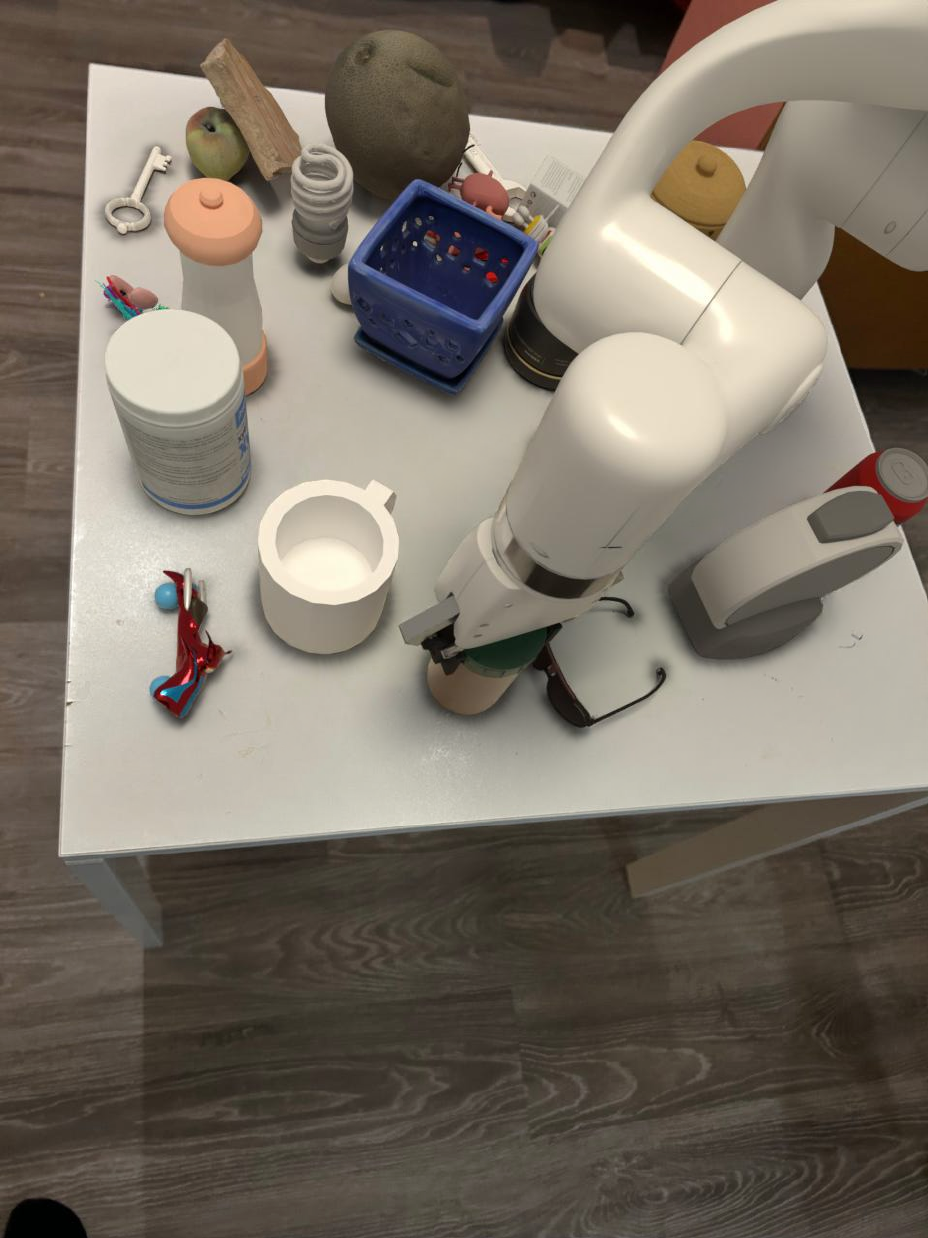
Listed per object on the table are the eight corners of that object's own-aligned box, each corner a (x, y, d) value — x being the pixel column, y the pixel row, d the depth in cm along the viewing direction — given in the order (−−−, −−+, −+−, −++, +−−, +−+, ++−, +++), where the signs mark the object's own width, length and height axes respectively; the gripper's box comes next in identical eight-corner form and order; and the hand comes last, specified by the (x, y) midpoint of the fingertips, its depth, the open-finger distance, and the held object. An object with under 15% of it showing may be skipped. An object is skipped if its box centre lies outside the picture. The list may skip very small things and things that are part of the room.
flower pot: (397, 269, 84) (414, 168, 73) (511, 329, 84) (545, 237, 73) (334, 356, 78) (343, 261, 68) (457, 420, 79) (485, 336, 68)
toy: (486, 126, 79) (590, 239, 85) (484, 123, 81) (585, 233, 88) (440, 184, 81) (545, 289, 88) (440, 179, 84) (541, 281, 90)
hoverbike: (131, 712, 59) (204, 701, 58) (140, 565, 64) (208, 553, 63) (166, 730, 64) (235, 720, 63) (172, 592, 68) (236, 580, 68)
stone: (300, 175, 89) (318, 160, 88) (267, 185, 79) (287, 168, 78) (221, 54, 84) (239, 37, 83) (175, 48, 74) (195, 29, 73)
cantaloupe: (292, 134, 75) (407, 250, 84) (400, 3, 69) (511, 142, 79) (288, 92, 85) (392, 200, 94) (383, -27, 79) (483, 101, 88)
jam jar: (486, 631, 71) (521, 574, 60) (514, 701, 69) (556, 655, 58) (415, 653, 69) (438, 597, 58) (442, 725, 67) (471, 682, 56)
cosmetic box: (513, 214, 88) (606, 276, 90) (529, 182, 84) (626, 246, 86) (532, 184, 91) (622, 244, 92) (549, 151, 87) (642, 214, 89)
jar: (568, 241, 80) (545, 298, 87) (501, 287, 76) (482, 342, 83) (643, 308, 79) (614, 360, 86) (578, 358, 75) (553, 408, 82)
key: (141, 233, 78) (96, 221, 78) (143, 241, 79) (98, 229, 79) (178, 149, 83) (135, 137, 83) (179, 157, 84) (137, 145, 83)
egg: (333, 317, 80) (348, 308, 83) (384, 293, 78) (397, 284, 81) (314, 279, 79) (330, 271, 82) (365, 252, 76) (380, 245, 79)
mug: (324, 495, 73) (331, 426, 63) (423, 553, 73) (445, 493, 63) (236, 613, 67) (228, 557, 58) (343, 677, 67) (353, 630, 57)
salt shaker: (282, 380, 76) (282, 212, 59) (210, 410, 74) (188, 242, 56) (243, 323, 78) (231, 142, 60) (171, 350, 75) (137, 169, 58)
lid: (434, 599, 59) (438, 589, 58) (522, 579, 61) (528, 569, 60) (463, 688, 57) (468, 680, 56) (553, 665, 59) (561, 656, 57)
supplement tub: (271, 492, 72) (268, 387, 59) (168, 536, 68) (141, 436, 55) (218, 408, 74) (204, 289, 61) (116, 447, 71) (77, 330, 57)
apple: (258, 148, 86) (257, 95, 81) (241, 202, 83) (238, 150, 78) (201, 132, 85) (195, 78, 80) (181, 186, 82) (174, 133, 77)
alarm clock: (781, 538, 81) (908, 433, 65) (829, 631, 78) (975, 545, 62) (643, 577, 76) (742, 474, 60) (688, 677, 74) (807, 598, 57)
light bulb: (357, 259, 84) (368, 155, 73) (324, 291, 81) (331, 189, 70) (312, 229, 84) (316, 122, 73) (278, 260, 82) (277, 154, 71)
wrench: (538, 216, 91) (543, 202, 89) (500, 229, 89) (505, 214, 88) (421, 63, 96) (424, 47, 95) (382, 72, 94) (384, 56, 93)
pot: (648, 281, 91) (689, 206, 82) (604, 201, 94) (639, 121, 85) (733, 266, 94) (781, 193, 85) (688, 190, 98) (730, 112, 89)
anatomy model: (55, 283, 69) (90, 335, 75) (130, 325, 68) (159, 374, 74) (95, 240, 70) (126, 295, 77) (169, 281, 69) (194, 333, 75)
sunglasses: (505, 632, 71) (527, 608, 67) (612, 598, 77) (639, 574, 72) (557, 743, 69) (584, 726, 64) (664, 700, 74) (696, 681, 70)
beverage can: (818, 575, 81) (902, 517, 70) (781, 519, 82) (857, 453, 71) (866, 553, 83) (955, 493, 72) (829, 498, 85) (910, 431, 74)
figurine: (418, 261, 86) (481, 278, 85) (414, 236, 83) (479, 253, 82) (461, 181, 90) (521, 195, 89) (458, 153, 87) (521, 168, 86)
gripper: (668, 440, 48) (571, 568, 64) (391, 506, 43) (361, 627, 59) (725, 551, 46) (610, 655, 62) (440, 634, 41) (395, 724, 57)
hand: (489, 641), depth 61 cm, fingers closed on lid, 6 cm apart
